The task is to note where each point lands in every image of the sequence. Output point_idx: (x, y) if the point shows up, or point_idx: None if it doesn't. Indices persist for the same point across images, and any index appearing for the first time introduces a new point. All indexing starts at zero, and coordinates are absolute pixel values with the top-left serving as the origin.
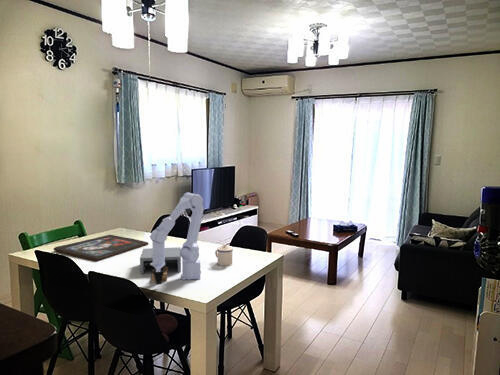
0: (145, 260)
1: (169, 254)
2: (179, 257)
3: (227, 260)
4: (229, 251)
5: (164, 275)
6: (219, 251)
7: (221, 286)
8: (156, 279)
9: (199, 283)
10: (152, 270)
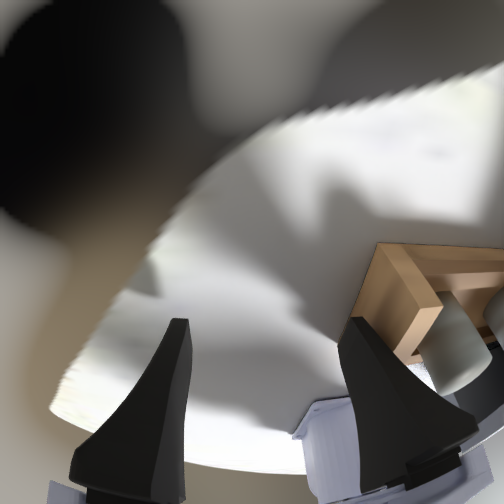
0: None
1: None
2: (465, 445)
3: None
4: (386, 488)
5: None
6: None
7: (192, 456)
8: (156, 372)
9: (236, 435)
10: (123, 493)
